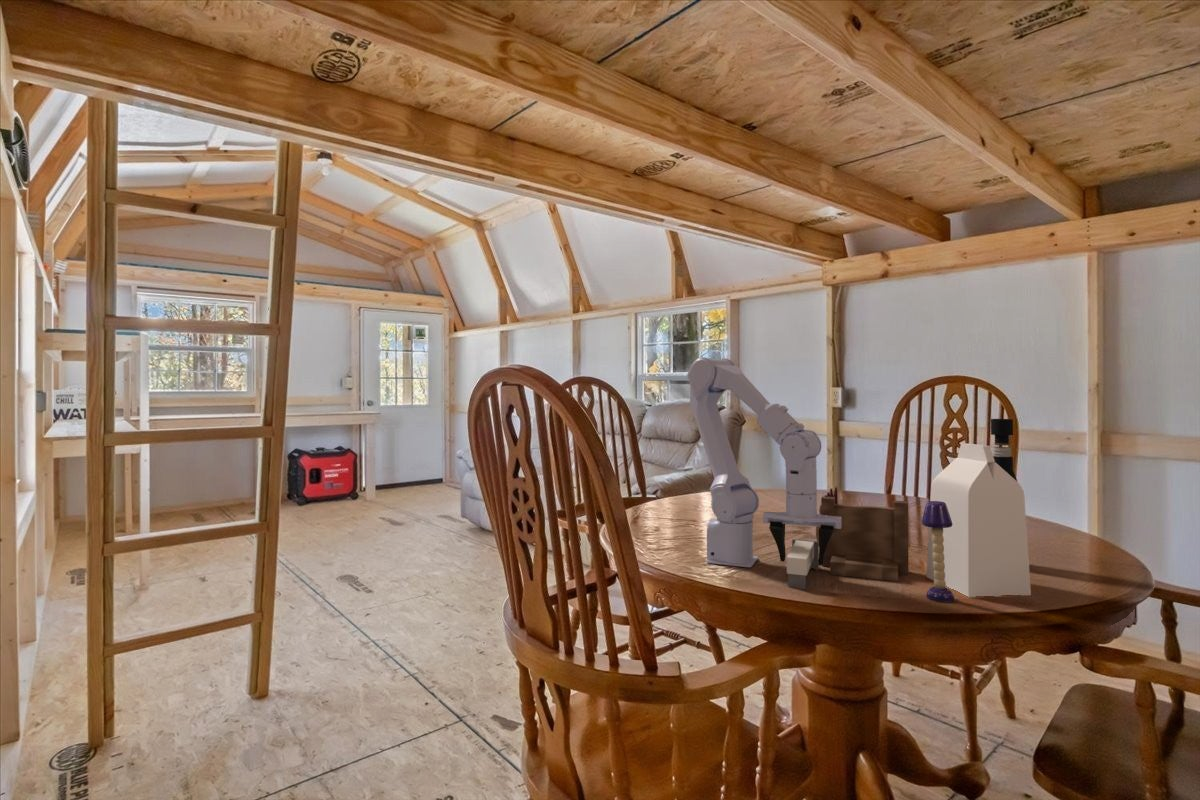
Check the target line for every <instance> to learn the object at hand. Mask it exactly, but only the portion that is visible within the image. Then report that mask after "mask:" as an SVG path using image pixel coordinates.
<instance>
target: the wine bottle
mask: <svg viewBox="0 0 1200 800" xmlns="http://www.w3.org/2000/svg"><path fill="white" fill-rule="evenodd" d="M990 435H992V436H994V445H995V446H993V448H992V451H993V452H992V454H993V457H994V460H995V463H997V464H998V465H999V466H1000V467H1001V468H1002V469H1003V470H1005V471H1006V472H1007V473H1008V474H1009V475H1010V476H1011V477H1012V478H1014V479H1015V480H1016V481H1017V482H1018V479H1017V477H1016V474H1015V471H1014V457H1013V456H1012V453H1011V452H1012V449H1011V447H1006V446H1009V445H1011V444H1010V436H1013V435H1014V419H1013V418H991V419H990Z"/></svg>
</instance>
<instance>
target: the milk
mask: <svg viewBox="0 0 1200 800" xmlns="http://www.w3.org/2000/svg"><path fill="white" fill-rule="evenodd" d="M992 451H993V450H992V448H991V445H985V444H978V443H977V444H975V443H968V442H967V443H960V446H959V450H958V453H957V457H956V458H955V459H954V460H953V461H952V462H951V463H950V464H949V463H948V465H947V466H946V467H945V468H943V470H941V471H940V472H939V473H938V474H937V475H936V476H935V477H934V479H933V480H932V482H931V486H930V497H929V498H930V501H941V502H945V503H946V505H947V508H948V511H949V514H950V517H951V520H952V527H949V528H943V534H942V535H943V538H944V541H943V546H944V551H943V553H944V557H945V558H944V561H943V562H944V564H945V569H944V572H945V579H944V580H945V582H946V586H947V587H946V586H945V587H946V588H948V587H949V588H948V589H950V588H951V589H950V590H952V589H954V590H956V591H958V592H960V593H962V594H964V595H966V596H968V597H967V598H977V597H976V596H982V597H981V598H984V597H983V596H994V597H1002V596H1001V595H1021V596H1032V590H1031V577H1030V574H1031V573H1030V562H1029V560H1030V559H1029V545H1028V533H1027V532H1028V531H1027V530H1028V529H1027V528H1028V527H1027V514H1026V501H1025V493H1024V489H1023V487H1022V486H1021V484H1020V482H1018V480H1017V481H1016V480H1015V479H1014V478H1012V477H1011V476H1010V475H1009V474H1008V473H1007V472H1006V471H1005V470H1003V469H1002V468H1001V467H1000V466H999V465H998V464H997V463H995V460H994V457H993V452H992ZM932 536H933V533H932V527H928V538H927V557H926V573H925V574H926V575H925V577H926V578H928V579H930V580H932V581H934V580H935V577H934V570H935V569H934V567H933V562H934V559H933V553H934V551H933V548H932V546H933V541H932ZM954 590H953V591H954ZM956 591H955V592H956ZM958 592H957V593H958ZM960 593H959V594H960ZM962 594H961V595H962ZM964 595H963V596H964ZM966 596H965V597H966Z"/></svg>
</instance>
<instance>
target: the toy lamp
mask: <svg viewBox="0 0 1200 800" xmlns="http://www.w3.org/2000/svg"><path fill="white" fill-rule="evenodd" d="M921 525H922V526H923V527H928V528H929V527H932V533H933V536H932V541H933V546H932V548H933V551H934V553H933V559H934V562H933V567H934V569H935V570H934V577H935V580H933V584H934V586H932V587H929V589H928V590H927V591H926V594H925V596H926V598H927V599H929V600H930V601H934V602H939V603H952V602H954V601H955V595H954V594H953V592H952V591H951V589H950V588H948V587H946V582H945V580H944V579H945V572H944V569H945V564H944V562H943V561H944V558H945V557H944V553H943V551H944V546H943V541H944V538H943V535H942V534H943V528H949V527H952V520H951V517H950V514H949V511H948V508H947V505H946V503H945V502H941V501H927V502H926V503H925V506H924V511H923V516H922V519H921Z"/></svg>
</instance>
